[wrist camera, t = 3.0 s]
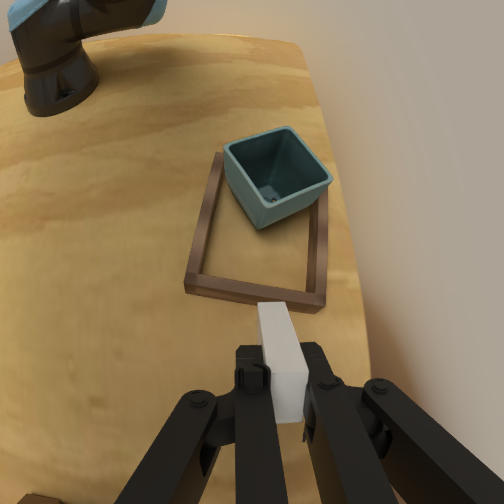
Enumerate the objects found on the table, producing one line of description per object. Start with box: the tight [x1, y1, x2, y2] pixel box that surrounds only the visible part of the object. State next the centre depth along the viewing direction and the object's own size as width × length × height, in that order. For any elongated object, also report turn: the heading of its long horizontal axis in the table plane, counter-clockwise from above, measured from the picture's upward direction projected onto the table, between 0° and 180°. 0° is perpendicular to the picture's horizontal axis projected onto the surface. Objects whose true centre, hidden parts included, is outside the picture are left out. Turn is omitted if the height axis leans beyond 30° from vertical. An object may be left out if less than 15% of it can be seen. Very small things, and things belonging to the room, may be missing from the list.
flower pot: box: [223, 126, 333, 229], centre depth 35 cm, size 9×9×9 cm
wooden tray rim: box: [184, 152, 328, 314], centre depth 36 cm, size 17×14×4 cm
